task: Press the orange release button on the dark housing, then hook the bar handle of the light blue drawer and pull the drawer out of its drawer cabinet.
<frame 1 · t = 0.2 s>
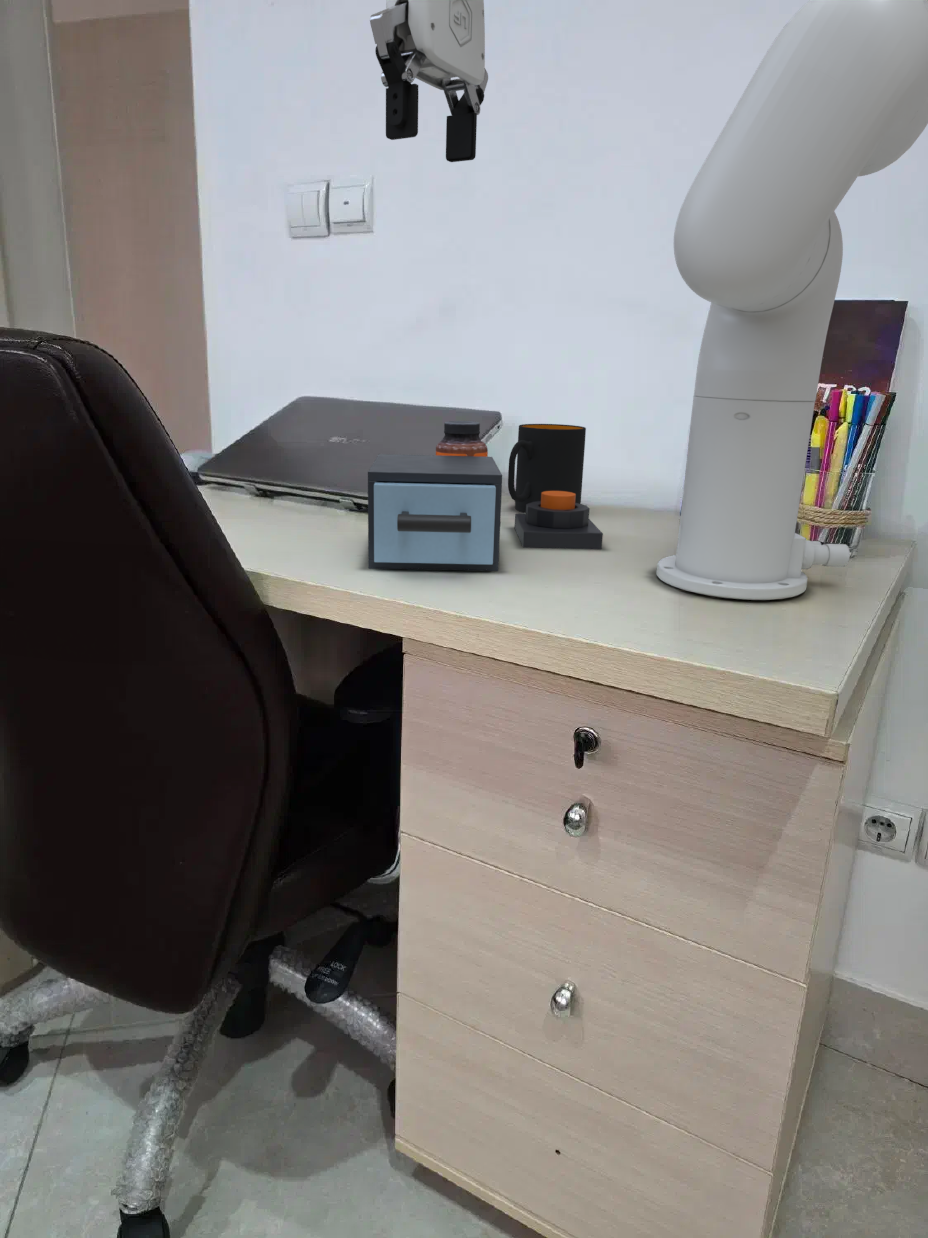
hand: (432, 149, 78), 37 cm above the table, tool pointing down, fingers open, 9 cm apart
light blue drawer: (434, 516, 75), point 4 cm above the table, slide at 0.0 cm
drawer cabinet: (433, 552, 80), on the table
supplement bottle: (460, 523, 96), on the table
mug: (538, 513, 104), on the table
release button: (558, 501, 87), point 4 cm above the table, slide at 0.1 cm
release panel: (555, 538, 88), on the table
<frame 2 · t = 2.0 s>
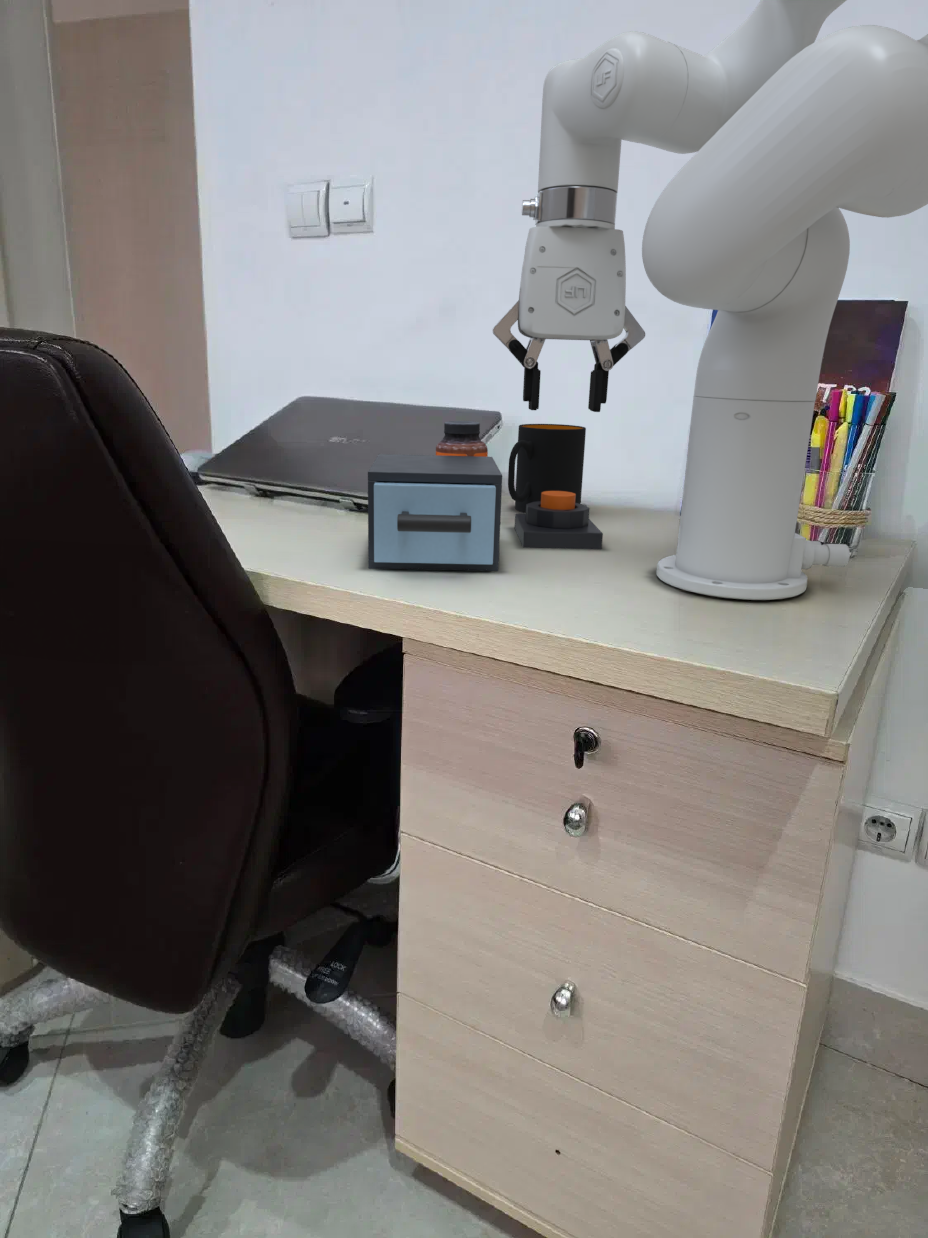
hand: (563, 408, 84), 14 cm above the table, tool pointing down, fingers open, 5 cm apart
nothing on the table moved.
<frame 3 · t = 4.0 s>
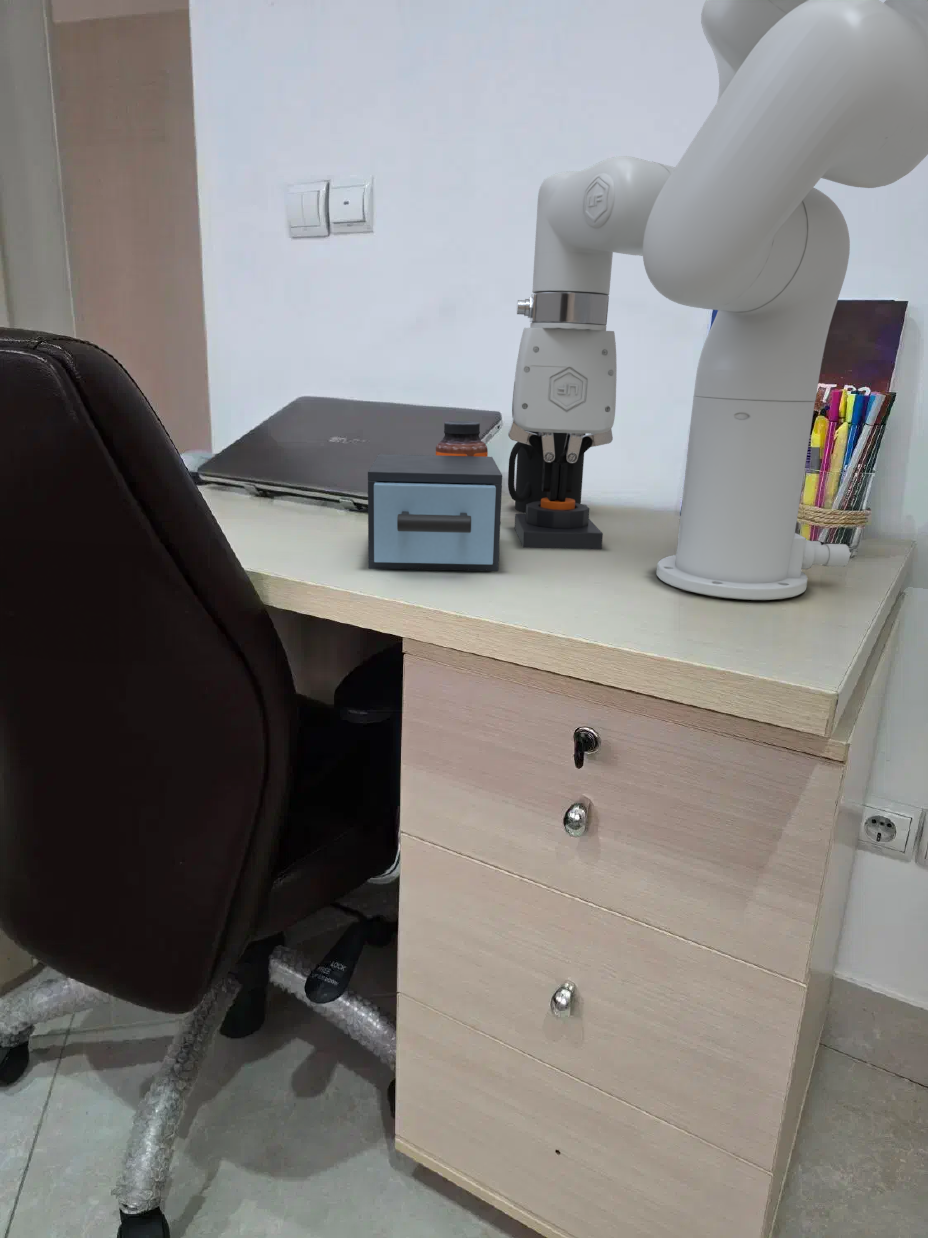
hand: (555, 498, 87), 4 cm above the table, tool pointing down, fingers closed
release button: (557, 508, 87), point 3 cm above the table, slide at -0.6 cm, touching gripper
everything else where it was.
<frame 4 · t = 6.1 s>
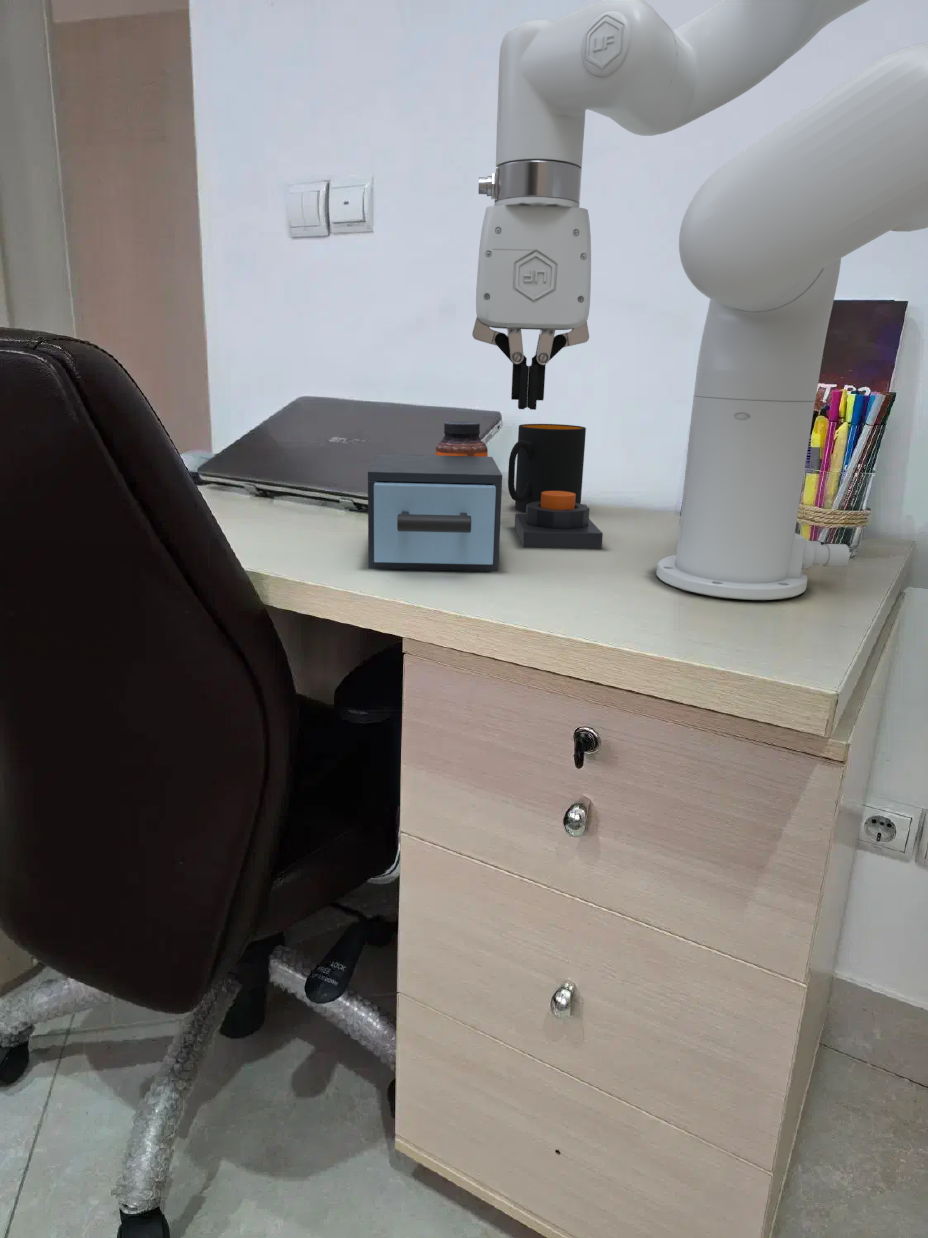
hand: (526, 408, 78), 14 cm above the table, tool pointing down, fingers closed
release button: (558, 501, 87), point 4 cm above the table, slide at 0.1 cm
everything else where it was.
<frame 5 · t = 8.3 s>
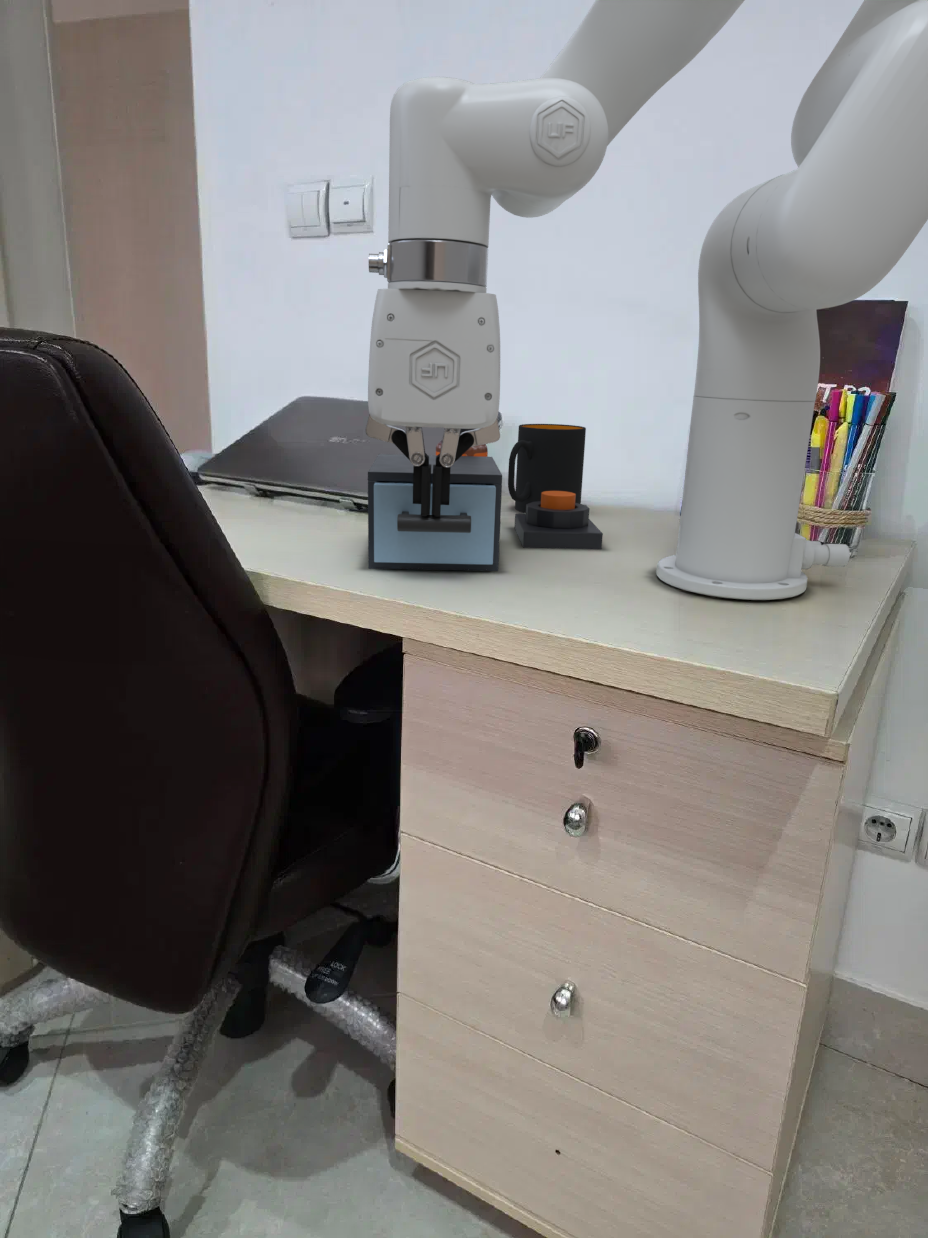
hand: (430, 513, 68), 6 cm above the table, tool pointing down, fingers closed
light blue drawer: (434, 516, 75), point 4 cm above the table, slide at 0.0 cm, touching gripper
everything else where it was.
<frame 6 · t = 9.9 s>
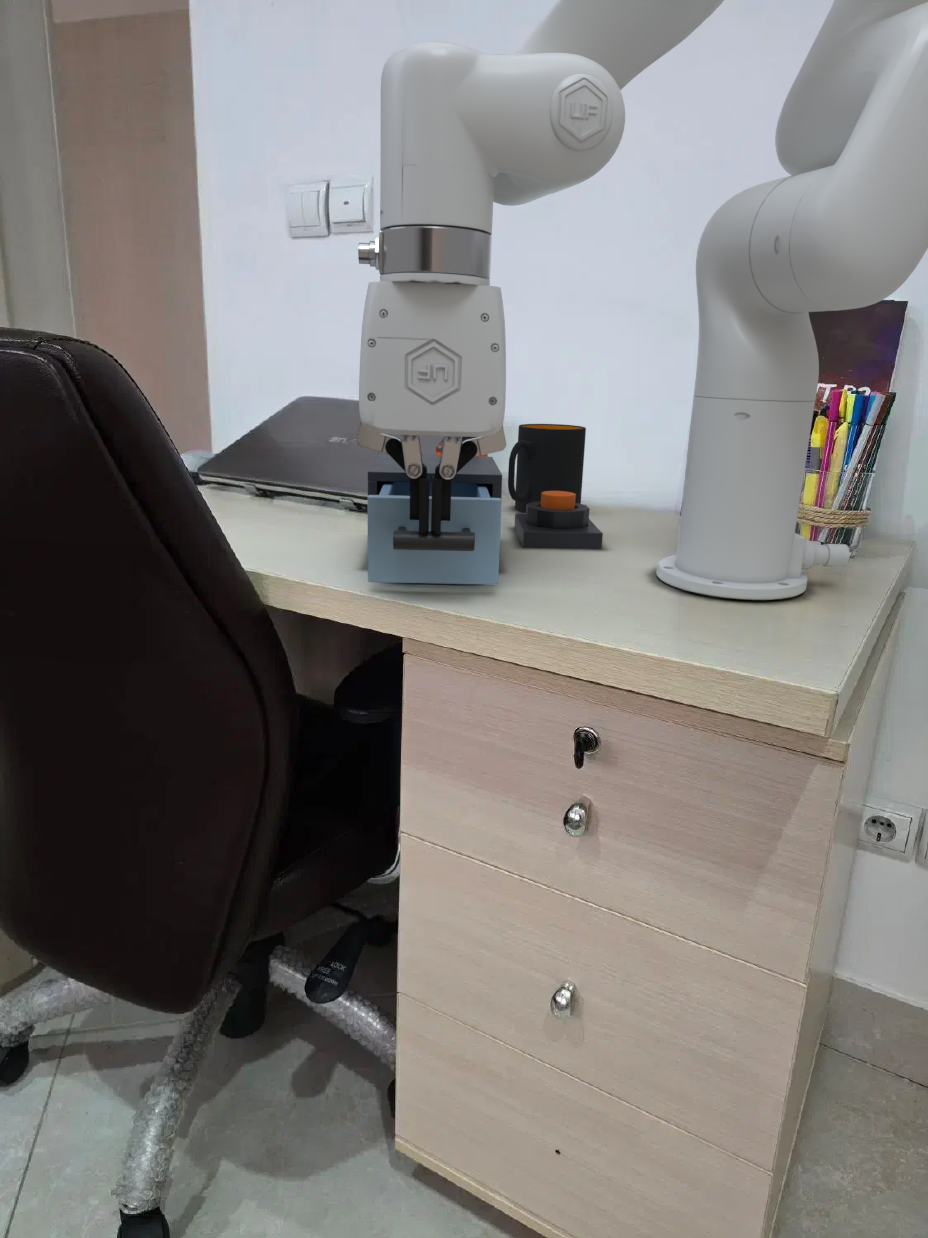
hand: (429, 529, 62), 6 cm above the table, tool pointing down, fingers closed
light blue drawer: (434, 531, 69), point 4 cm above the table, slide at 6.7 cm, touching gripper
everything else where it was.
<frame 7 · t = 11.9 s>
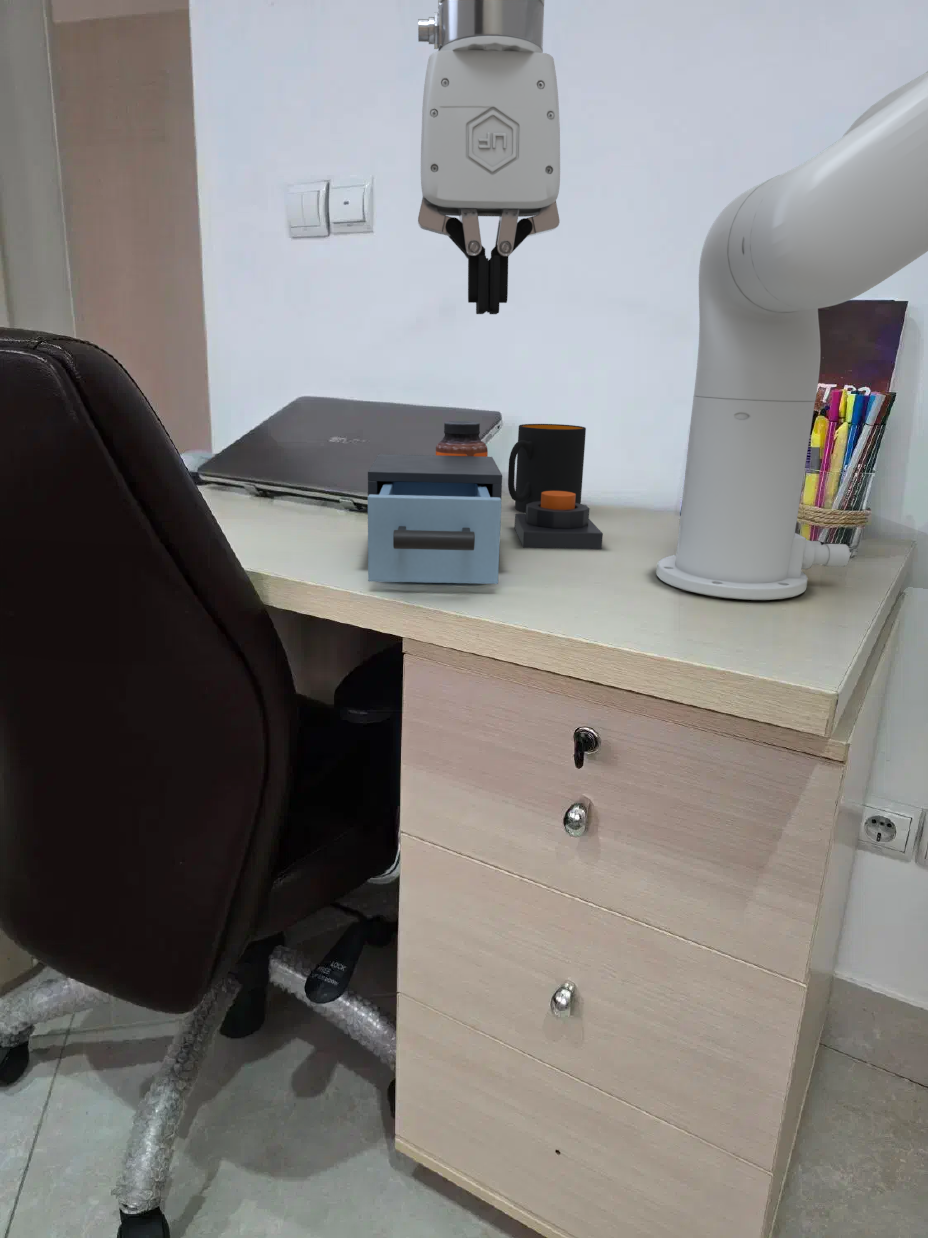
hand: (487, 312, 65), 22 cm above the table, tool pointing down, fingers closed
light blue drawer: (434, 530, 69), point 4 cm above the table, slide at 6.5 cm
everything else where it was.
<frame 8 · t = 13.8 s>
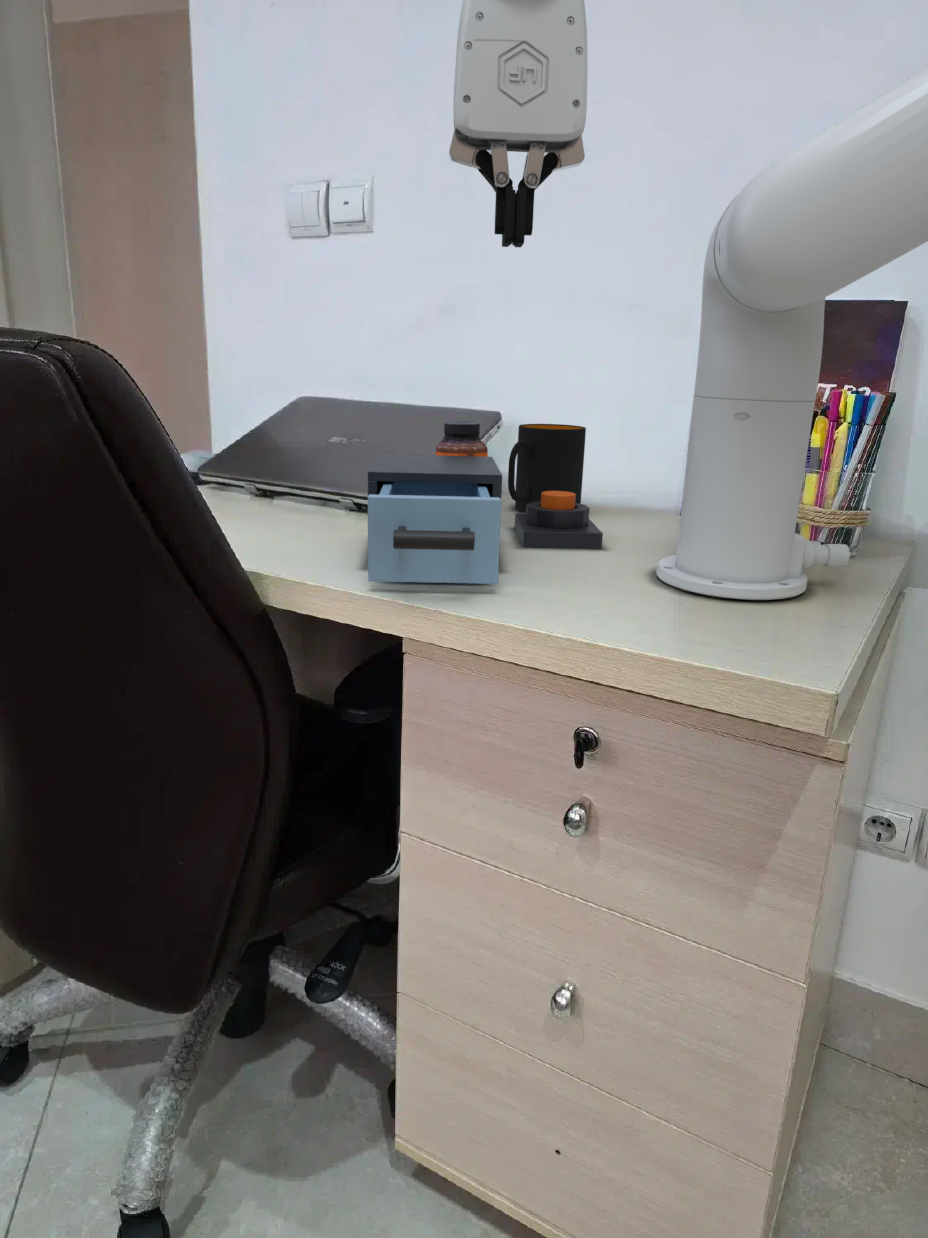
hand: (512, 244, 68), 27 cm above the table, tool pointing down, fingers closed
nothing on the table moved.
at the end: release button pushed in 1.0 cm at the most during the clip, back to where it started at the end; release button slide at 0.1 cm; light blue drawer slide at 6.5 cm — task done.
